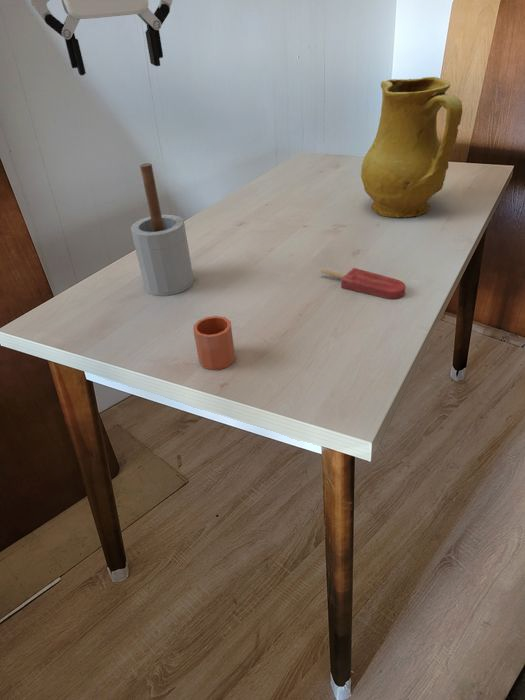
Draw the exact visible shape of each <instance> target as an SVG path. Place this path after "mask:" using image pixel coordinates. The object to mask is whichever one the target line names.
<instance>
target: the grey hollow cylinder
mask: <svg viewBox="0 0 525 700" xmlns="http://www.w3.org/2000/svg"><path fill="white" fill-rule="evenodd" d="M161 215H162V220H163V225H164V230H163V231H158V232H154V231H153V226H152V222H151V217H150V216H147V217H143V218H141V219H139V220H137V221H136V222H134V223H133V224H132V225H131V227H130V231H131V236H132V241H133V245H134V249H135V252H136V253H135V254H136V257H137V262H138V267H139V270H140V274H141V275H140V276H141V279H142V283H143V287H144V289H145V291H146V292H147V293H148V294H150V295H153V296H159V297H165V296H166V297H167V296H173V295H176V294H180V293H182V292H185V291H186V290H188V289H190V288H191V287H192V286H193V284H194V273H193V272H194V271H193V266H192V261H191V255H190V250H189V243H188V236H187V232H186V225H185V221H184V219H183V218H182V217H180V216H178V215H174V214H161Z"/></svg>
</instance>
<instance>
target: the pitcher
mask: <svg viewBox="0 0 525 700" xmlns="http://www.w3.org/2000/svg"><path fill="white" fill-rule="evenodd" d="M380 87H381V90H382V91H381V92H382V96H381V97H382V98H381V99H382V100H381V107H380V109H381V110H380V117H379V123H378V127H377V131H376V135H375V137H374V140H373V141H372V144H371V146H370V148H369V149H368V150H367V152H366V153H365V156H364V158H363V160H362V164H361V170H360V172H361V173H360V178H361V181H362V185H363V187H364V191H365V193H366V194H367V196H368V197H370V199H372V200H373V203H372V204H371V210H372V211H373V212H374V213H376V214H378V216H382V217H384V218H385V217H387V218H396V219H399V218H401V219H403V218H404V219H405V218H410V217H411V218H413V217H420V216H422V215H424V214H427V213H429V211H430V209H431V204H430V203H429V202H428V201H429V200H430V199H431V198H432V197H433V196H434V195H435V194H437V193H438V192H440V191H442V189H443V187H444V182H445V180H446V175H447V171H448V169H449V160H450V158H451V157H452V155H453V147H454V146H455V145H456V143H457V137H458V133H459V126H460V125H461V121H462V116H463V102H462V100H461V99H460V98H459V96H457V95H456V94H451V93H450V94H448V93H446V92H447V91H448V90H449V88H450V87H451V83H450V81H448V80H446V79H443V78H440V77H437V76H426V77H422V78H408V79H407V78H406V79H404V78H403V79H402V78H401V79H400V78H399V79H398V78H391V79H387V80H382V81H381V82H380ZM442 107H443V108H444V109H445V110H446V116H445V125H444V131H443V135H442V138H441V141H440V140H439V137H438V132H437V122H438V121H437V119H438V118H437V117H438V116H437V115H438V112H439V111H440V110H441V108H442Z"/></svg>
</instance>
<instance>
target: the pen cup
mask: <svg viewBox="0 0 525 700" xmlns="http://www.w3.org/2000/svg"><path fill="white" fill-rule="evenodd" d="M192 331H193V336H194V342H195V347H196V353H197V359H198V361H199V364H200V366H201V367H203V368H204V369H207V370H209V371H217V370H223V369H226V368H228V367H230V366H231V365H232V364H233V363H234V362H235V360H236V353H235V352H236V351H235V345H234V336H233V329H232V321H231V320H230V319H228V318H227V317H225V316H220V315H211V316H205V317H204V318H201V319H199V320H197V321H196V323H194V324H193V330H192Z"/></svg>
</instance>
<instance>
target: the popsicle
mask: <svg viewBox="0 0 525 700" xmlns="http://www.w3.org/2000/svg"><path fill="white" fill-rule="evenodd" d="M320 273H322V274H325V275H329V276H333V277H337V278H340V288H342V289H345V290H349V291H354V292H357V293H358V292H359V293H363V294H366V295H371V296H375V297H380V298H384V299H389V300H390V299H391V300H394V299H400V298H402V297H403V296H405V294H406V285H405V283H404V282H403V281H402V280H399V279H397V278H394V277H390V276H386V275H383V274H379V273H374V272H371V271H367V270H364V269H360V268H356V267H353V268H351V270H349V271H348V272H347V273H346V274H344V273H339V272H335V271H331V270H327V269H321V270H320Z"/></svg>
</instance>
